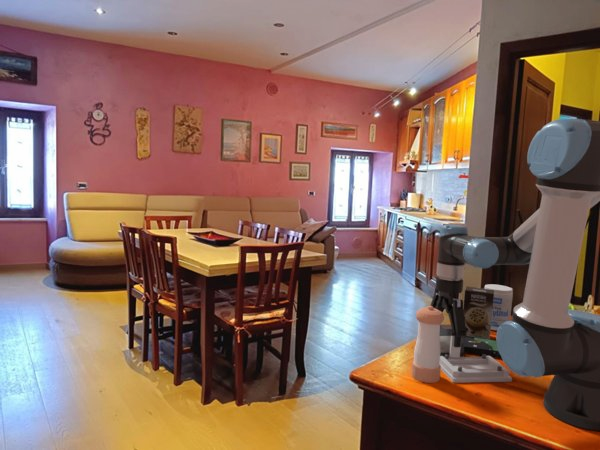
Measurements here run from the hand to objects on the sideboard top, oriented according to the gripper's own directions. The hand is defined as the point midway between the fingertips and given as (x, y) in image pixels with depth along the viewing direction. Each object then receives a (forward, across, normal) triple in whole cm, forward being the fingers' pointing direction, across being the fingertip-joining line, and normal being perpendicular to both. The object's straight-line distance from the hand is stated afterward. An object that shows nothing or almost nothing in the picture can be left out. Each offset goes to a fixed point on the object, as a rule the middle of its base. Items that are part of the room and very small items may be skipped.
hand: (444, 347), depth 134 cm
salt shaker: (+2, -14, +11) cm, 18 cm away
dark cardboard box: (+3, +16, -18) cm, 24 cm away
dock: (+2, -11, -3) cm, 12 cm away
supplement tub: (+3, +25, -30) cm, 39 cm away
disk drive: (+3, +5, -13) cm, 14 cm away
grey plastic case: (+2, 0, 0) cm, 2 cm away
